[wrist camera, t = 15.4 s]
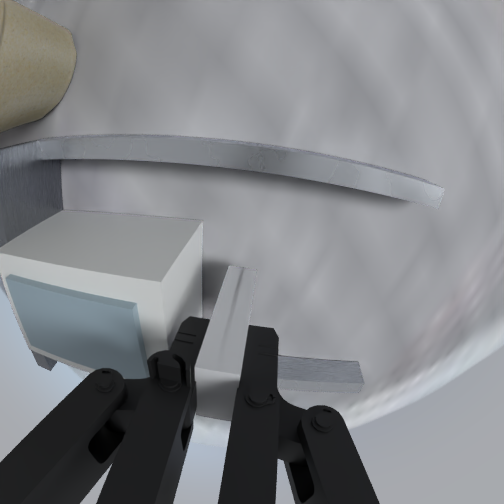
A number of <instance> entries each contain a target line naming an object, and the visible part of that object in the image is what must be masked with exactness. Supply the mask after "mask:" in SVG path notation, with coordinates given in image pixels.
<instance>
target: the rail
mask: <svg viewBox="0 0 504 504" xmlns="http://www.w3.org/2000/svg"><path fill="white" fill-rule="evenodd" d="M61 159H114V160H139V161H156V162H171V163H184V164H195V165H205V166H215V167H224V168H233V169H241V170H249V171H256V172H263V173H270V174H277V175H284V176H290V177H296V178H302V179H308V180H313V181H319V182H324V183H330V184H335V185H340V186H345V187H350V188H355V189H359V190H364V191H369V192H373V193H378V194H382V195H386V196H390V197H395V198H399V199H403V200H407V201H411V202H414V203H418V204H422V205H426V206H429V207H433V208H437V209H439V207H440V204H441V200H442V196H443V192H444V188H442V187H440V186H438V185H436V184H434V183H432V182H429V181H427V180H425V179H422V178H419V177H415V176H412V175H408V174H405V173H401V172H398V171H394V170H390V169H387V168H383V167H379V166H375V165H371V164H367V163H362V162H358V161H354V160H349V159H345V158H340V157H335V156H330V155H325V154H320V153H315V152H310V151H304V150H298V149H292V148H286V147H280V146H273V145H266V144H259V143H251V142H243V141H234V140H224V139H213V138H201V137H187V136H169V135H82V136H65V137H52V138H44V139H39V140H34V141H29V142H25V143H21V144H16V145H12V146H8V147H4V148H0V247H2V246H3V245H5V244H6V243H8V242H10V241H11V240H13V239H14V238H16V237H17V236H19V235H21V234H22V233H24V232H26V231H27V230H29V229H31V228H32V227H34V226H36V225H37V224H39V223H41V222H42V221H44V220H46V219H48V218H49V217H51V216H53V215H55V214H57V213H58V212H60V211H62V210H63V203H62V189H61ZM31 351H32V350H31ZM32 353H33V355H34V357H35V359H36V362H37V364H38V365H39V366H41V367H43V368H45V369H47V370H50V371H51V370H52V368H53V367H54V365H55V364H56V363H57V361H56V360H54V359H51V358H49V357H46V356H44V355H42V354H39V353H37V352H35V351H32ZM363 385H364V380H363V376H362V372H361V369H360V365H359V362H352V361H333V360H319V359H307V358H296V357H286V356H278V378H277V387H278V389H285V390H298V391H313V392H336V393H359V392H360V390H361V388H362V387H363Z"/></svg>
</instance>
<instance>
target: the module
mask: <svg viewBox="0 0 504 504" xmlns="http://www.w3.org/2000/svg"><path fill="white" fill-rule="evenodd" d="M202 241H203V221H202V220H191V219H180V218H169V217H157V216H144V215H131V214H118V213H103V212H88V211H72V210H62V211H60V212H58V213H57V214H55V215H53V216H51V217H49V218H48V219H46V220H44V221H42V222H41V223H39V224H37V225H36V226H34V227H32V228H31V229H29V230H27V231H26V232H24V233H22V234H21V235H19V236H17V237H16V238H14V239H13V240H11V241H10V242H8V243H6V244H5V245H3V246H2V247H0V274H1V277H2V281H3V284H4V287H5V290H6V293H7V296H8V298H9V301H10V304H11V307H12V309H13V312H14V314H15V317H16V319H17V322H18V324H19V327H20V329H21V331H22V334H23V335H24V338H25V340H26V343H27V345H28V347H29V349H30V350H32V351H35V352H37V353H39V354H42V355H44V356H46V357H49V358H51V359H54V360H56V361H59V362H61V363H64V364H67V365H69V366H72V367H75V368H77V369H80V370H83V371H86V372H89V373H92V372H93V371H95V370H97V369H101V368H111V369H114V370H117V371H118V372H119V373H120V374H121V375H122V376H123V378H124V379H143V378H147V377H150V375H149V370H148V365H147V360H148V358H149V357H150V356H151V355H152V354H154V353H156V352H158V351H163V350H169V349H170V347H171V345H172V343H173V341H174V338H175V336H176V334H177V332H178V329H179V327H180V325H181V323H182V322H183V321H184V320H186V319H187V318H188V317H189V316H193V317H198V318H202Z"/></svg>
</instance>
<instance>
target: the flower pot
mask: <svg viewBox="0 0 504 504" xmlns="http://www.w3.org/2000/svg"><path fill="white" fill-rule="evenodd" d="M76 55H77V53H76V49H75V46H74V43H73V39H72V34H71V32H70V31H69V30H67V29H66V28H64V27H62V26H60V25H58V24H57V23H55V22H53V21H51V20H50V19H48V18H46V17H44V16H42V15H40V14H38V13H36V12H34V11H32V10H30V9H28V8H26V7H24V6H23V5H21V4H19V3H17V2H15V1H13V0H0V133H1V132H3V131H6V130H9V129H11V128H14V127H17V126H20V125H23V124H26V123H29V122H32V121H36V120H39V119H41V118H42V117H44V116H45V115H46V114H47V113H48V112H49V111H50V110H52V109H53V108H54V107H55V106H56V105H57V104H58V103H59V102H60V101H61V99H62V97H63V96H64V94H65V92H66V90H67V88H68V86H69V84H70V81H71V78H72V76H73V72H74V68H75V64H76Z"/></svg>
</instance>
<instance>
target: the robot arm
mask: <svg viewBox="0 0 504 504" xmlns="http://www.w3.org/2000/svg"><path fill="white" fill-rule="evenodd" d="M256 273H257V269H251V268H244V267H237V266H231V265H229V267H228V270H227V273H226V275H225V278H224V281H223V284H222V287H221V290H220V293H219V296H218V299H217V302H216V305H215V307H214V310H213V313H212V316H211V319H210V320H209V319H204V318H198V317H193V316H189V317H188V318H187V319H186V320H184V321H183V322H182V323H181V325H180V327H179V329H178V332H177V334H176V336H175V338H174V341H173V343H172V345H171V347H170V349H169V350H163V351H158V352H156V353H154V354H152V355H151V356H150V357H149V358H148V360H147V365H148V370H149V375H150V377H147V378H143V379H124V378H123V376H122V375H121V374H120V373H119V372H118V371H117V370H114V369H111V368H101V369H97V370H95V371H93V372H92V373H90V374H89V375H88V376H87V377H86V378H85V379H84V380H83V381H82V382H81V383H80V384H79V385H78V386H77V387H76V388H75V389H74V390H73V391H72V392H71V393H69V394H68V395H67V396H66V397H65V398H64V400H62V401H61V402H60V403H59V404H58V405H57V406H56V407H55V408H54V409H53V410H52V411H51V412H50V413H49V414H48V415H47V416H46V417H45V418H44V419H43V420H42V421H41V422H40V423H39V424H38V425H37V426H36V427H35V428H34V429H33V430H32V431H31V432H30V433H29V434H28V435H27V436H26V437H25V438H24V439H23V440H22V441H21V442H20V443H19V444H18V445H17V446H16V447H15V448H14V449H13V450H12V451H11V452H10V453H9V454H8V455H7V456H6V457H5V458H4V459H3V460H2V461H1V462H0V504H80V502H81V501H82V500H83V499H84V498H85V496H86V495H87V494H88V493H89V492H90V490H91V489H92V488H93V486H94V485H95V484H96V483H97V482H98V480H99V479H100V478H101V477H102V475H103V474H104V473H105V472H106V470H107V469H108V468H109V466H110V465H111V464H112V466H111V468H110V471H109V473H108V475H107V478H106V481H105V483H104V485H103V488H102V490H101V493H100V495H99V498H98V501H97V503H96V504H173V501H174V498H175V494H176V490H177V487H178V483H179V479H180V475H181V471H182V468H183V464H184V460H185V457H186V453H187V449H188V445H189V442H190V438H191V435H192V431H193V419H194V415H195V412H196V415H199V416H204V417H209V418H214V419H220V420H226V421H231V427H230V433H229V439H228V446H227V452H226V458H225V464H224V470H223V476H222V482H221V488H220V494H219V500H218V504H275V500H276V482H277V459H281V460H283V461H284V464H285V468H286V471H287V475H288V479H289V482H290V486H291V490H292V493H293V497H294V501H295V504H379V501H378V499H377V496H376V494H375V492H374V489H373V487H372V484H371V482H370V480H369V477H368V475H367V473H366V470H365V468H364V466H363V463H362V461H361V459H360V456H359V454H358V452H357V449H356V447H355V445H354V443H353V440H352V438H351V435H350V433H349V431H348V429H347V426H346V424H345V422H344V419H343V418H342V416H341V415H340V413H339V412H338V411H336V410H335V409H333V408H331V407H328V406H325V405H316V406H313V407H310V408H309V409H307V410H305V409H302V408H299V407H296V406H294V405H292V404H290V403H288V402H287V401H285V400H284V399H283V398H282V397H281V395H280V394H279V392H278V387H277V378H278V342H279V337H278V336H277V334H276V332H275V330H274V328H267V327H260V326H253V325H249V321H250V315H251V308H252V301H253V294H254V287H255V280H256Z"/></svg>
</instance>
